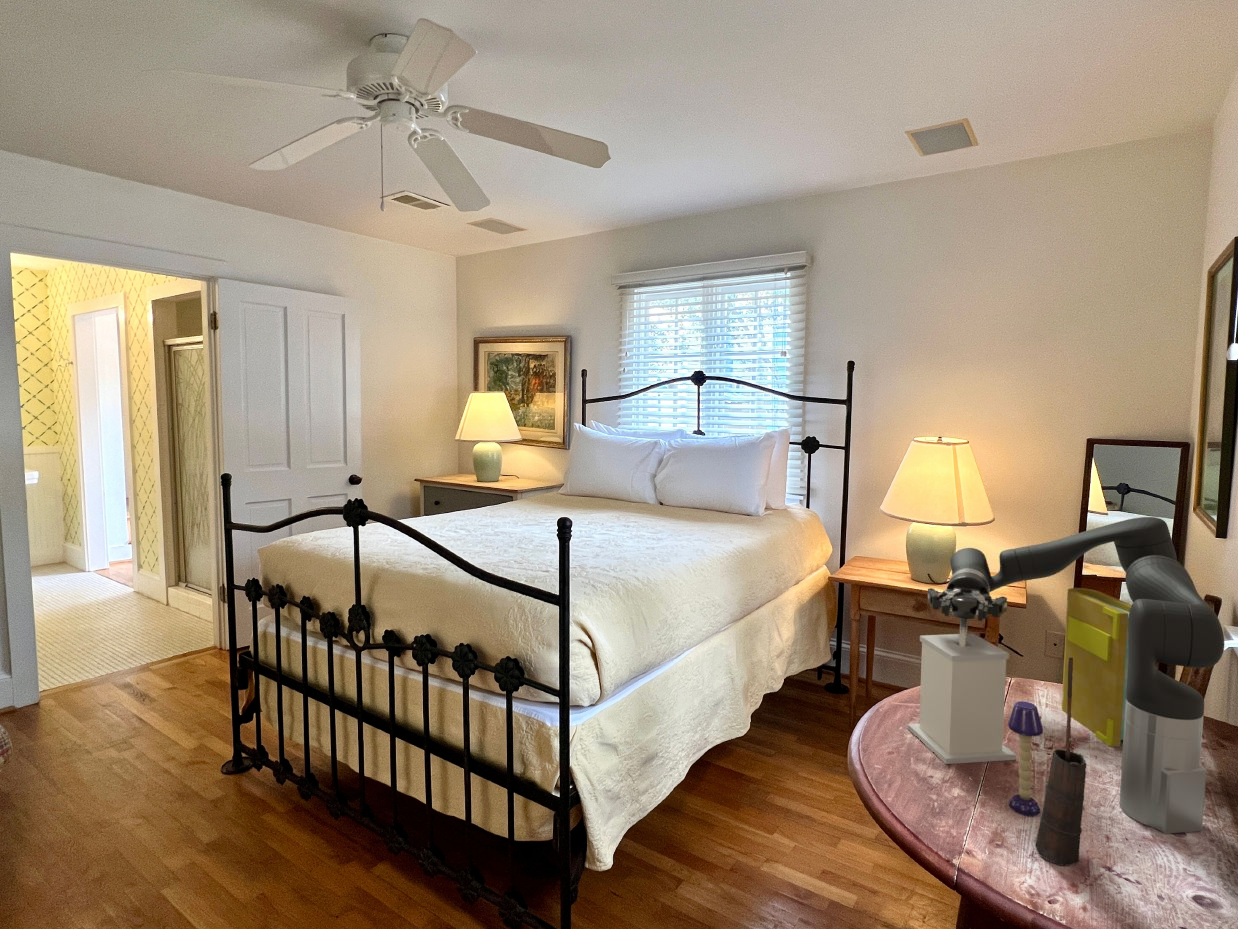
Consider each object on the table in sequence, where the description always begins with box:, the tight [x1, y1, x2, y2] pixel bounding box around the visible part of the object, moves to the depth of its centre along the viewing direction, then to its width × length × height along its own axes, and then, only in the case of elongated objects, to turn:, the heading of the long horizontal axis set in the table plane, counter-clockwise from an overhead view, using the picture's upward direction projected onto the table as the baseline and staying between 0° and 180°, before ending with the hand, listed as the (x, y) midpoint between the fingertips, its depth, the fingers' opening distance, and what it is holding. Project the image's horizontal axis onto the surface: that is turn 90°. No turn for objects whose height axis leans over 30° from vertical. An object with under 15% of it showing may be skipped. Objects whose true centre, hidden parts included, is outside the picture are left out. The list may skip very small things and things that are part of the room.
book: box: [1061, 587, 1132, 747], centre depth 133 cm, size 17×7×25 cm, turn 179°
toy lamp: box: [1007, 700, 1044, 817], centre depth 106 cm, size 5×5×17 cm
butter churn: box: [1035, 657, 1087, 867], centre depth 94 cm, size 9×10×28 cm
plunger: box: [951, 596, 977, 647], centre depth 126 cm, size 8×8×26 cm
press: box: [907, 633, 1017, 765], centre depth 126 cm, size 13×13×19 cm
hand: (963, 613), depth 123 cm, fingers open, 4 cm apart
